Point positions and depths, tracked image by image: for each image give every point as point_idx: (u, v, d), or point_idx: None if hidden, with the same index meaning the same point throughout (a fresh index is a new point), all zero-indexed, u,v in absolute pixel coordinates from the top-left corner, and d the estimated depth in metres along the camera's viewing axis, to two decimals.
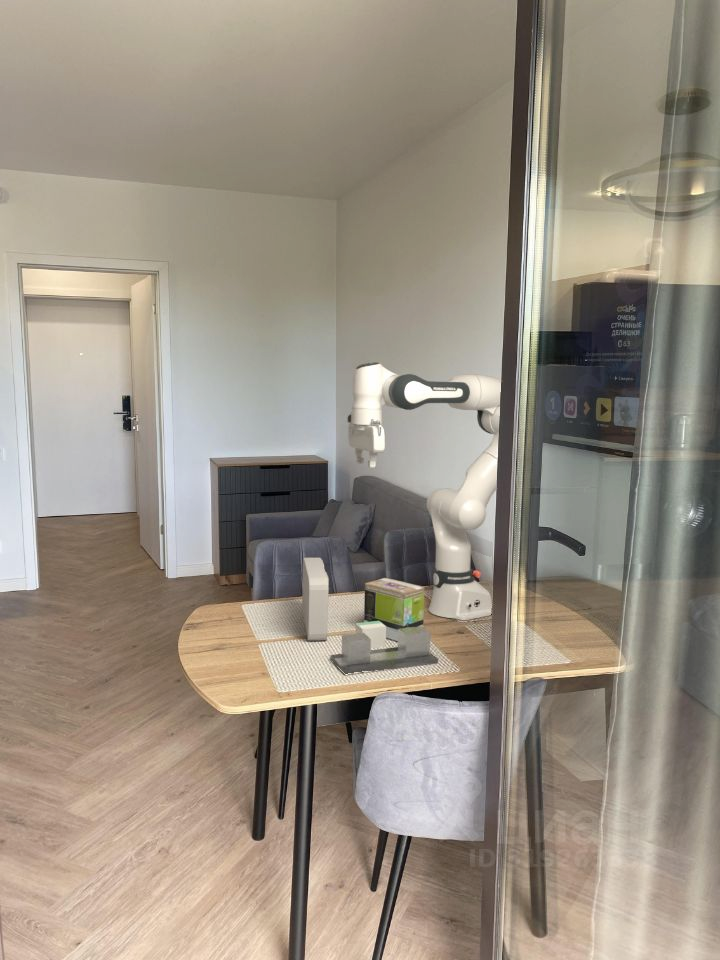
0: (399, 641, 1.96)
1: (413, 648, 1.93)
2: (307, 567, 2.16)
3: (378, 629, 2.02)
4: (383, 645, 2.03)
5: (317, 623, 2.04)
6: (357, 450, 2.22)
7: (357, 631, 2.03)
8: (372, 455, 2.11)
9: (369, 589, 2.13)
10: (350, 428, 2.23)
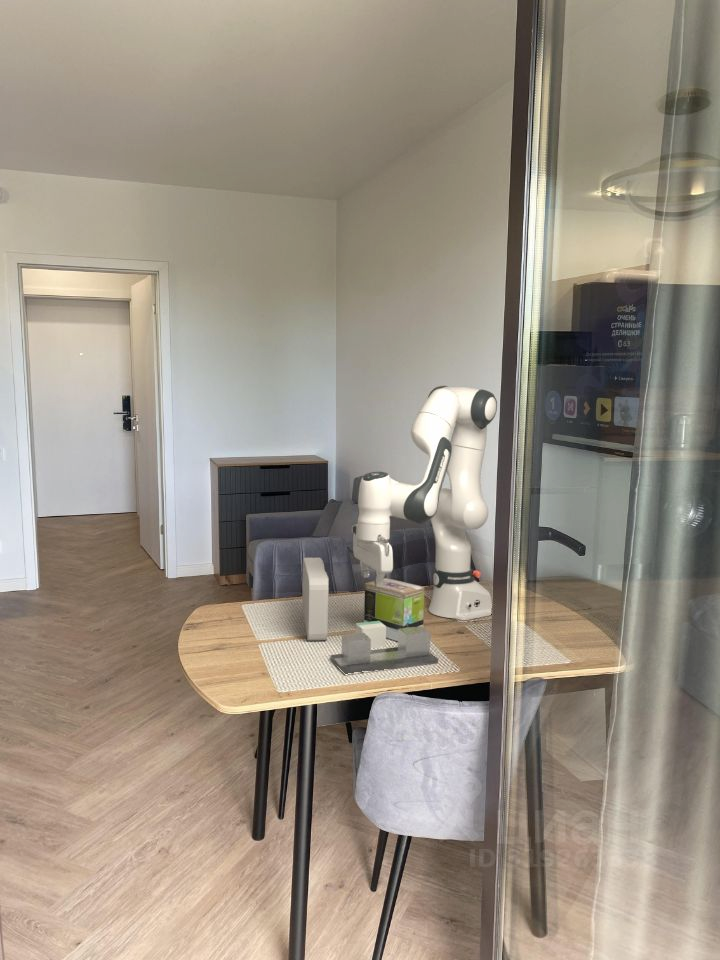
0: (399, 641, 1.96)
1: (413, 648, 1.93)
2: (307, 567, 2.16)
3: (378, 629, 2.02)
4: (383, 645, 2.03)
5: (317, 623, 2.04)
6: (362, 563, 2.06)
7: (357, 631, 2.03)
8: (379, 574, 1.95)
9: (369, 589, 2.13)
10: (355, 539, 2.07)
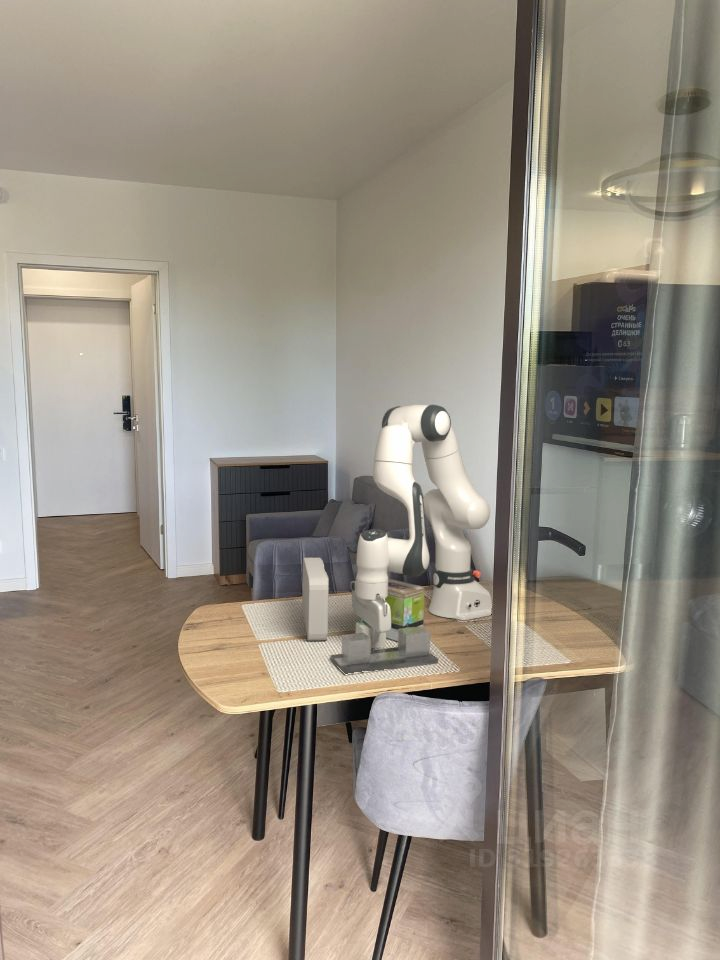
0: (399, 641, 1.96)
1: (413, 648, 1.93)
2: (307, 567, 2.16)
3: None
4: (383, 645, 2.03)
5: (317, 623, 2.04)
6: (363, 620, 2.07)
7: (357, 631, 2.03)
8: (375, 631, 1.99)
9: None
10: (354, 594, 2.09)
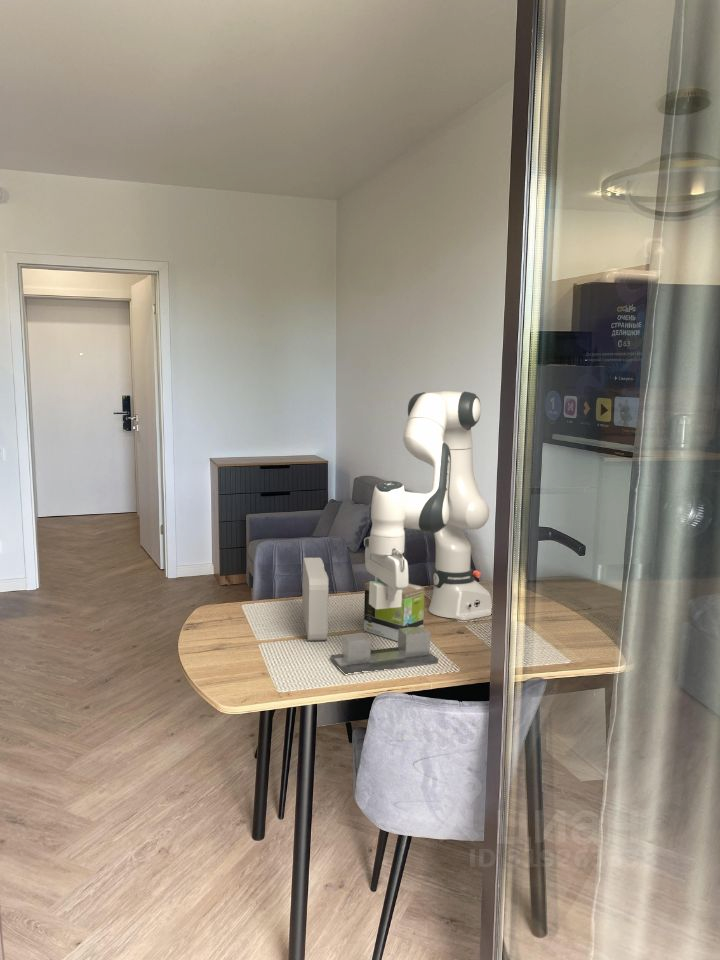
0: (399, 641, 1.96)
1: (413, 648, 1.93)
2: (307, 567, 2.16)
3: None
4: (399, 605, 1.89)
5: (317, 623, 2.04)
6: (377, 579, 1.93)
7: (371, 589, 1.90)
8: (391, 589, 1.85)
9: None
10: (367, 552, 1.95)
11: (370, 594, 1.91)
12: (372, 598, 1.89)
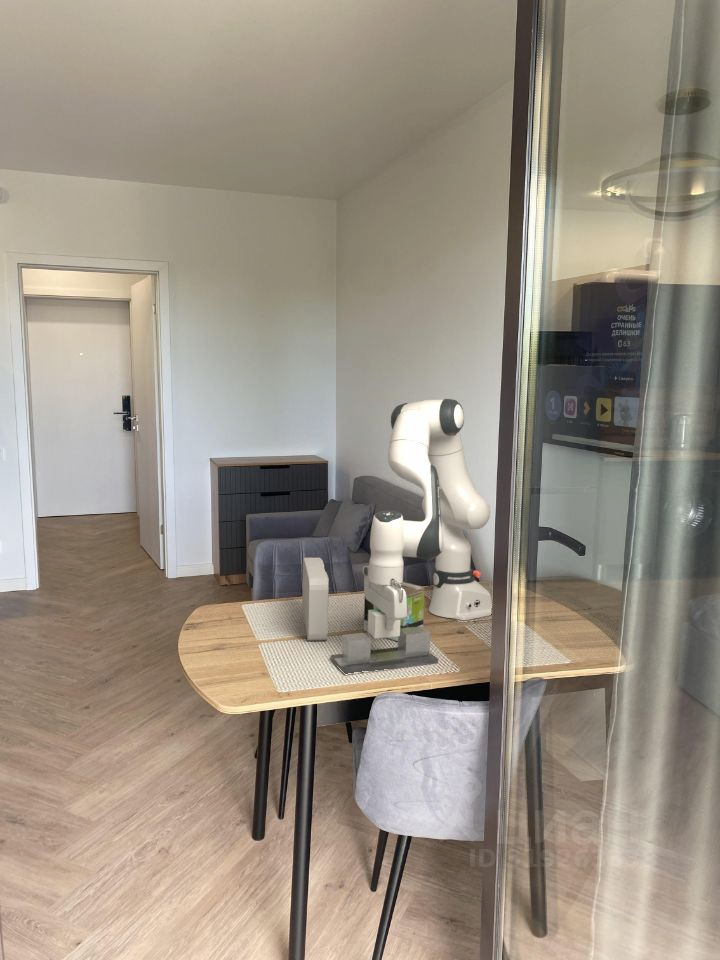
0: (399, 641, 1.96)
1: (413, 648, 1.93)
2: (307, 567, 2.16)
3: None
4: (397, 633, 1.90)
5: (317, 623, 2.04)
6: (376, 607, 1.94)
7: (370, 618, 1.91)
8: (390, 619, 1.86)
9: None
10: (366, 580, 1.96)
11: (368, 622, 1.92)
12: (371, 627, 1.90)
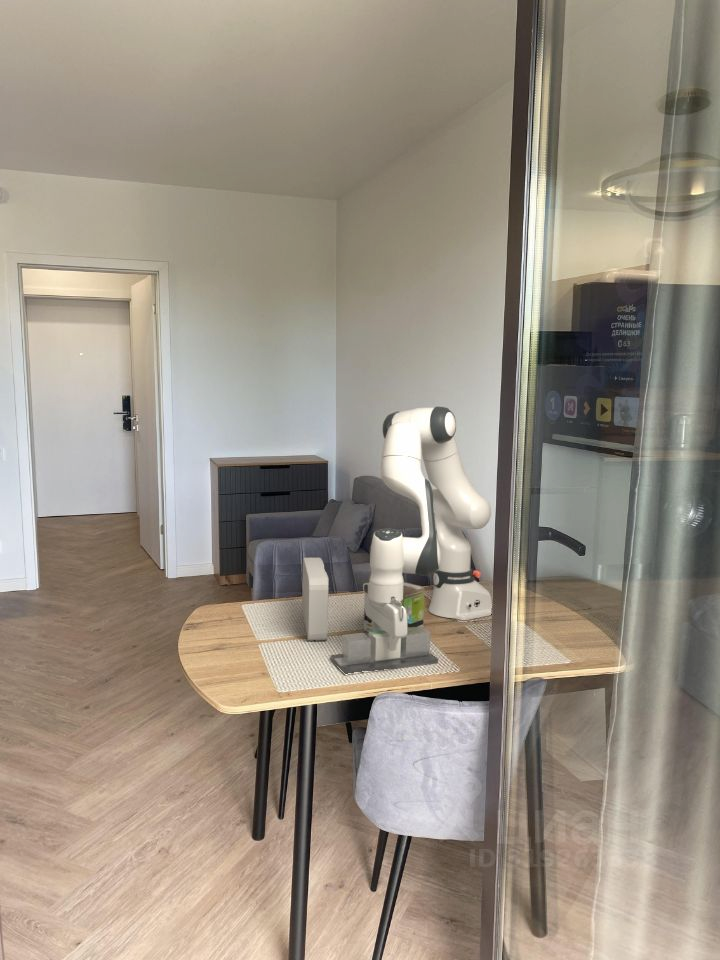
0: None
1: (413, 648, 1.93)
2: (307, 567, 2.16)
3: None
4: (398, 655, 1.91)
5: (317, 623, 2.04)
6: (374, 623, 1.96)
7: None
8: (393, 638, 1.86)
9: None
10: (366, 597, 1.97)
11: None
12: (372, 649, 1.91)
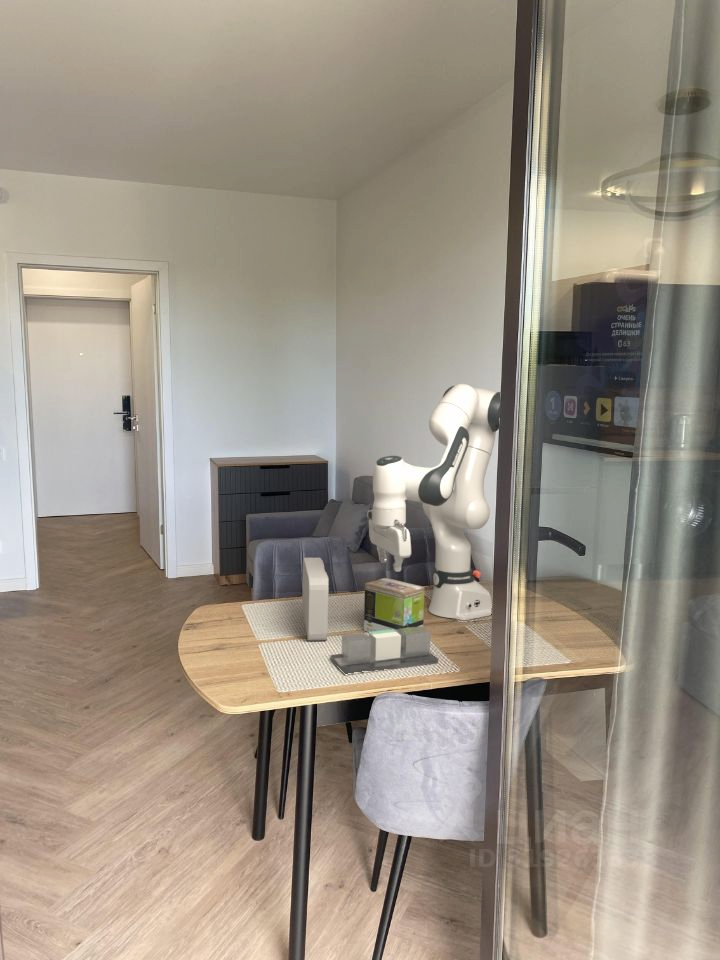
0: None
1: (413, 648, 1.93)
2: (307, 567, 2.16)
3: (392, 638, 1.90)
4: (398, 655, 1.91)
5: (317, 623, 2.04)
6: (379, 548, 2.05)
7: None
8: (397, 559, 1.94)
9: (369, 589, 2.13)
10: (371, 524, 2.05)
11: None
12: (372, 649, 1.91)
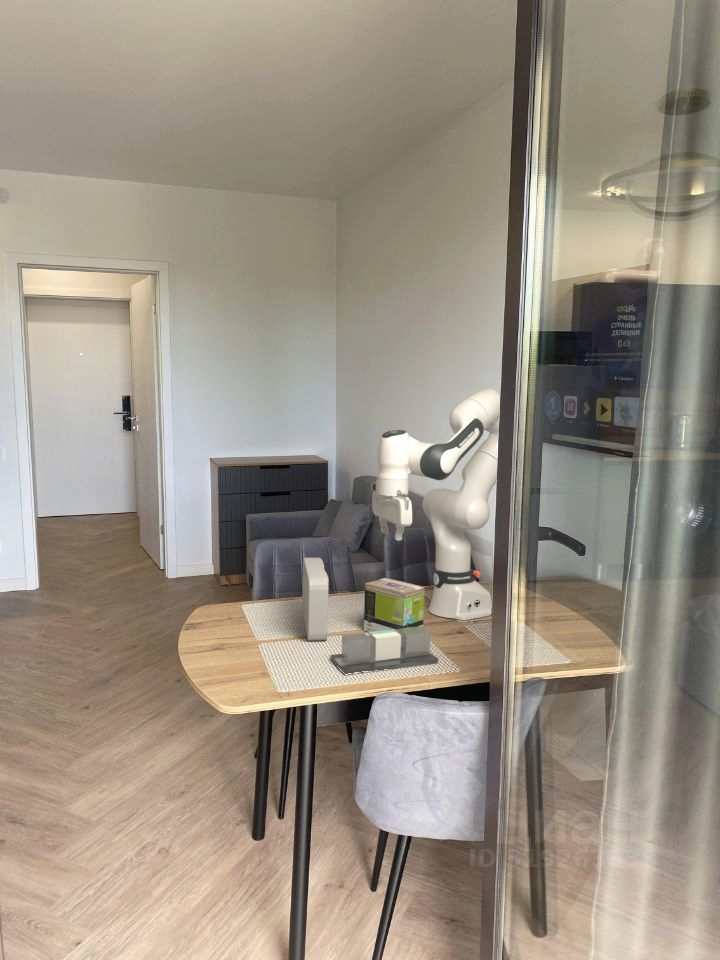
0: None
1: (413, 648, 1.93)
2: (307, 567, 2.16)
3: (392, 638, 1.90)
4: (398, 655, 1.91)
5: (317, 623, 2.04)
6: (382, 519, 2.13)
7: None
8: (399, 528, 2.02)
9: (369, 589, 2.13)
10: (374, 496, 2.14)
11: None
12: (372, 649, 1.91)
